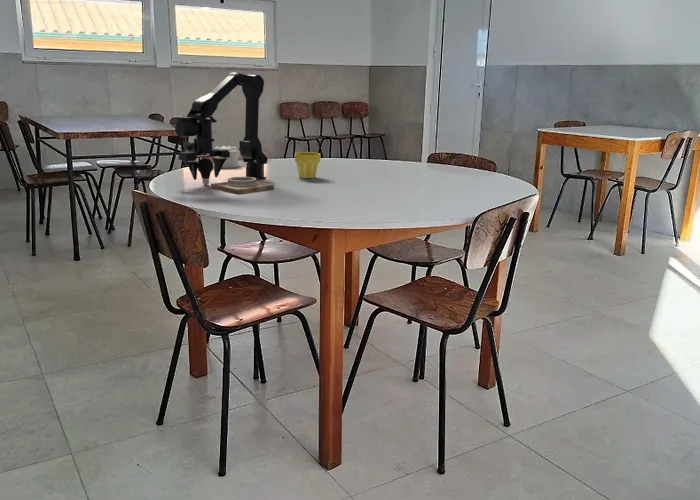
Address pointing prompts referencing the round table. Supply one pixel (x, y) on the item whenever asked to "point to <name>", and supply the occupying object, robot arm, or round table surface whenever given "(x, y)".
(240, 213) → the round table surface
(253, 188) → the socket base
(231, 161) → the lumpy-topped squat cylinder
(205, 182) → the light bulb
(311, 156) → the plant pot
